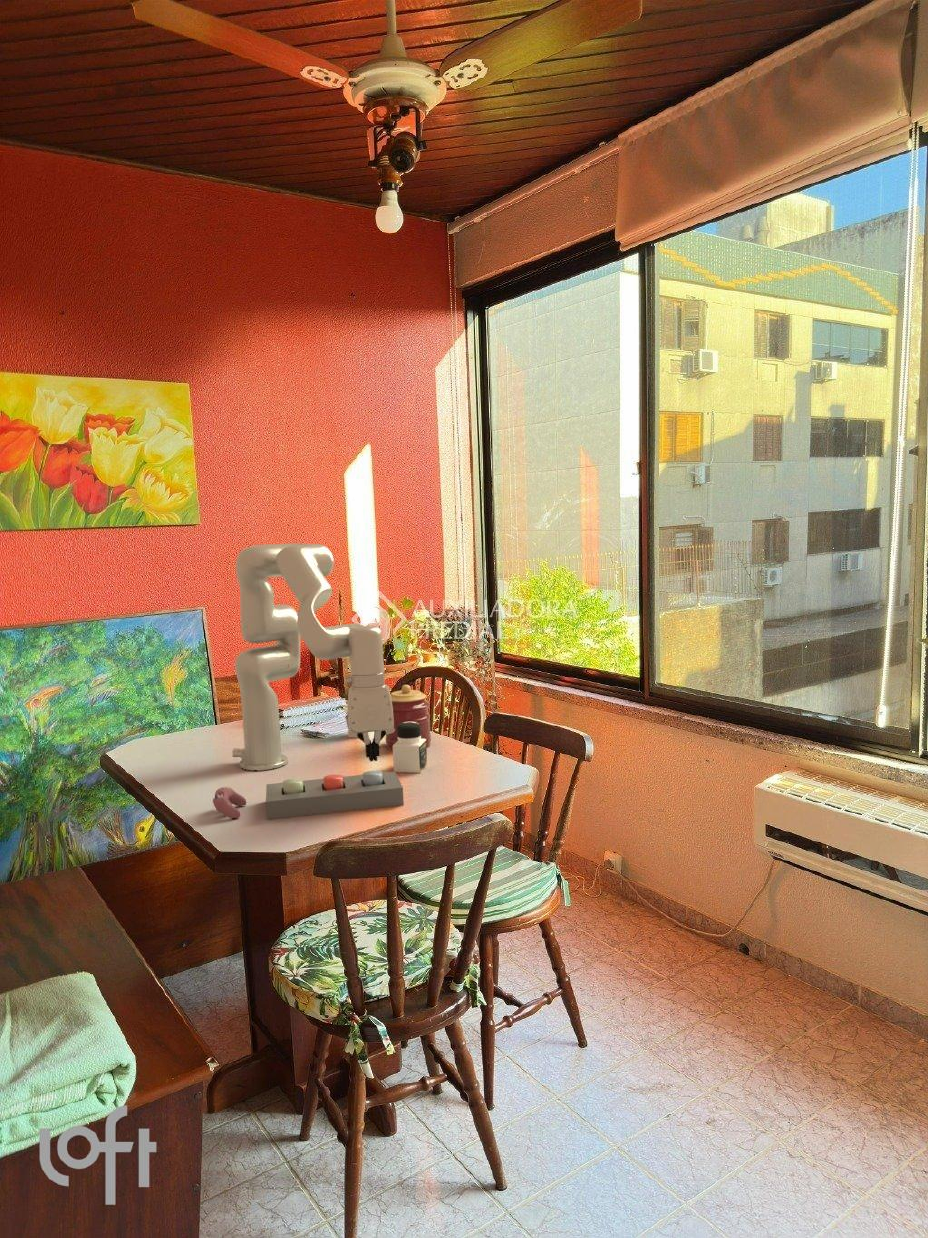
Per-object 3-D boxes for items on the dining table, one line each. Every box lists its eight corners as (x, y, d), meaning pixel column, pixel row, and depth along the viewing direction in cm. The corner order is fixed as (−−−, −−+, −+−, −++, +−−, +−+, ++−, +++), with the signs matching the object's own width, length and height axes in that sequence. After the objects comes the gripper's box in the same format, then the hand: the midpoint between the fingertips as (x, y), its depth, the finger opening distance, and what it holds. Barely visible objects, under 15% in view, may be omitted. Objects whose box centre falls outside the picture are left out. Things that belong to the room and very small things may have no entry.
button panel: (267, 819, 185) (265, 801, 184) (267, 801, 197) (266, 784, 197) (403, 804, 191) (402, 787, 190) (395, 787, 203) (395, 771, 203)
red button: (324, 795, 191) (323, 781, 191) (323, 789, 195) (322, 775, 195) (344, 793, 192) (343, 779, 192) (342, 787, 196) (342, 773, 196)
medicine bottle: (420, 773, 215) (418, 726, 213) (393, 772, 216) (391, 726, 215) (427, 765, 222) (425, 720, 220) (401, 764, 223) (399, 719, 222)
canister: (418, 737, 251) (415, 678, 249) (439, 746, 240) (437, 685, 238) (378, 744, 244) (375, 684, 242) (398, 754, 233) (395, 691, 231)
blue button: (364, 790, 193) (363, 777, 193) (362, 785, 197) (362, 771, 197) (383, 788, 194) (383, 775, 194) (381, 783, 198) (380, 769, 198)
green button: (283, 799, 189) (283, 785, 189) (283, 793, 193) (282, 779, 193) (303, 797, 190) (303, 783, 190) (303, 791, 194) (302, 777, 194)
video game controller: (231, 812, 195) (215, 787, 194) (248, 802, 195) (233, 777, 194) (223, 827, 185) (206, 801, 184) (241, 817, 185) (224, 790, 184)
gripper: (336, 686, 187) (341, 767, 189) (403, 680, 191) (407, 760, 192) (333, 681, 195) (339, 759, 197) (398, 675, 198) (403, 752, 200)
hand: (373, 759), depth 194 cm, fingers closed
